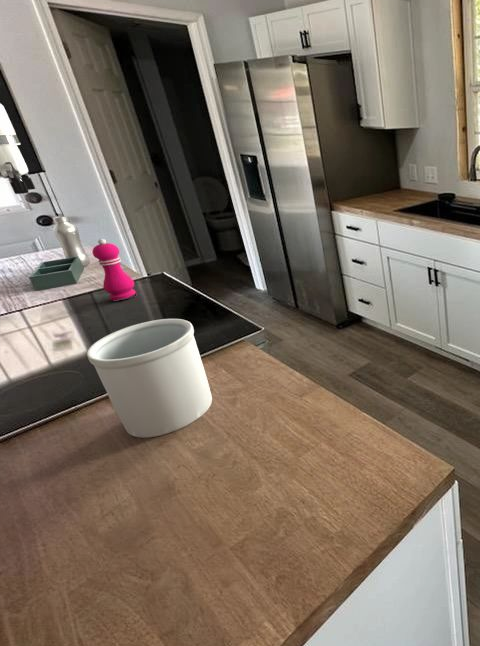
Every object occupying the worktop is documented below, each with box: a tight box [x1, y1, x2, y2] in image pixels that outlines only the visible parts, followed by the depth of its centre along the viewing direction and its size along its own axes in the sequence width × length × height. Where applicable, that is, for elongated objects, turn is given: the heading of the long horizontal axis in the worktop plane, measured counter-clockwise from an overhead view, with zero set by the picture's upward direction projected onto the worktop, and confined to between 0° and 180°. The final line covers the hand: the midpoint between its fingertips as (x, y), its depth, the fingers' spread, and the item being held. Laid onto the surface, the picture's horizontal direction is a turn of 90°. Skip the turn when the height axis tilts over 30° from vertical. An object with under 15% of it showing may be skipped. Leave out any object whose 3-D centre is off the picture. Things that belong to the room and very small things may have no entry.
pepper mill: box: [92, 238, 137, 301], centre depth 130 cm, size 7×7×20 cm
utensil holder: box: [86, 318, 213, 439], centre depth 79 cm, size 15×15×18 cm
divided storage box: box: [28, 256, 85, 292], centre depth 149 cm, size 10×19×5 cm, turn 39°
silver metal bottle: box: [52, 215, 91, 267], centre depth 158 cm, size 6×7×20 cm
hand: (25, 191), depth 146 cm, fingers open, 9 cm apart
